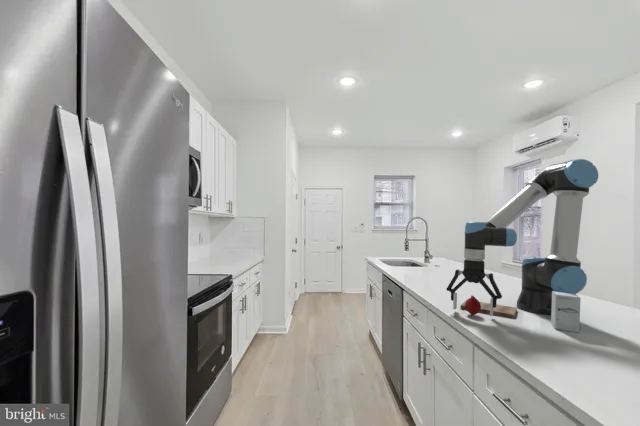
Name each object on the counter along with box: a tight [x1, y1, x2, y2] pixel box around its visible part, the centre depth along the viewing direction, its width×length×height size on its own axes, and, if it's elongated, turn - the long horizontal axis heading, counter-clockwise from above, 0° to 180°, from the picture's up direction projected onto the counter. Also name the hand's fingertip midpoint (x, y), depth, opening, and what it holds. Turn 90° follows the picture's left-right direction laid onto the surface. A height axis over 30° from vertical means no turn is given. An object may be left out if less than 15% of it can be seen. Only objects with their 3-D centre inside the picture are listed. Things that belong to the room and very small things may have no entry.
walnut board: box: [459, 299, 518, 319], centre depth 138 cm, size 20×14×2 cm
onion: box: [464, 294, 481, 316], centre depth 129 cm, size 6×6×8 cm
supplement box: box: [550, 291, 581, 334], centre depth 117 cm, size 7×7×13 cm
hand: (472, 312), depth 129 cm, fingers open, 13 cm apart
